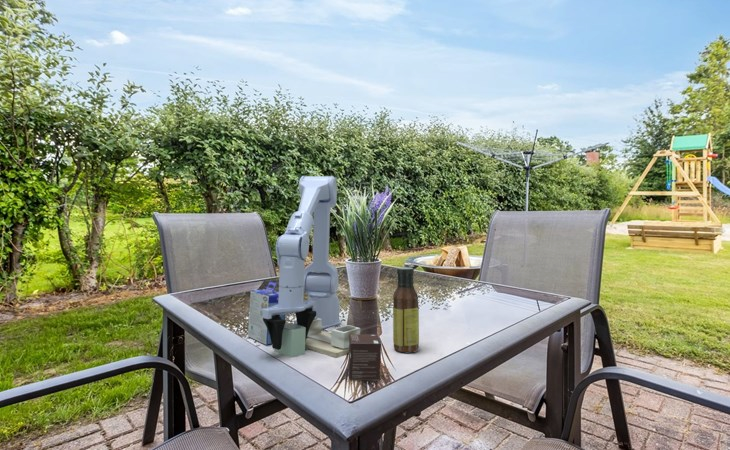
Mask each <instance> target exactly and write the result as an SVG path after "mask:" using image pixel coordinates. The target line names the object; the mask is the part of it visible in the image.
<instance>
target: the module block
mask: <svg viewBox="0 0 730 450" xmlns="http://www.w3.org/2000/svg"><path fill="white" fill-rule="evenodd" d="M305 333H306V327H303V326H301V325H297V324H294V322H287V323H286V322H285V325H284V329H283V333H282V345H281V349H279V350H277V349H274V348H273V349H274V350H273V351H274V353H276V354H281V355H283V356H286V357H289V358H295V357H297V356H301V355H303V354H306V353H305V352H306V348H305Z"/></svg>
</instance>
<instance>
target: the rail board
mask: <svg viewBox="0 0 730 450" xmlns="http://www.w3.org/2000/svg"><path fill="white" fill-rule="evenodd" d="M293 324H297V319H294V320H293ZM321 328H322V319H320V318H314V320H313V322H312V324H311V326H310V329H309V332H308V335H307V339H306V342H305V349H307V350H310V351H314V352H317V353H318V354H319V353H320V354H323V355H327V356H329V357H333V358H335V359H337V358H340V357H341V356H345V355H347V354H348V355H349V335H350V334H361V327H357V326H353V325H349V324H348V325H344V326H340V327H337V328H333V329H331V331H330V332H328V331H325V330H322V329H321Z"/></svg>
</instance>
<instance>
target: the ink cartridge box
mask: <svg viewBox="0 0 730 450" xmlns="http://www.w3.org/2000/svg"><path fill="white" fill-rule="evenodd" d="M277 285H278V283H277V282H272V281H269V283H268V284H267V285H266V288H265V289H256V290H254V289H253V290H250V295H249V296H250V298H249V313H248V315H249V316H248V330H247V337H248V338H250V339H253V340H255V341H257V342H259V343H261V344H263V345H265V346H267V345H272V342H271V338H270V334H269V331H268V329H267V327H266V325H265V323H264V321H263V318H262V313H263V309H265V308H269V307H272V306H275V305H278V300H279V291H275V290H276V287H277ZM270 286H273V287H270ZM280 317H281V319H283V320H286V315H281V316H280Z"/></svg>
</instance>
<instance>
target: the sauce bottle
mask: <svg viewBox="0 0 730 450" xmlns="http://www.w3.org/2000/svg"><path fill="white" fill-rule="evenodd" d="M414 269H415V268H413V267H407V266H404V267H403V266H401V267H397V268H396V275H397V287H396V288H395V290H394V292H393V294H392V295H393V296H392V297H393V298H392V300H393V301H392V304H393V305H392V339H393V340H392V341H393V348H394V350H395V351H397V352H400V353H403V352H412V353H415V352H414V351H416V352H417V351H418V350H419V347H420V346H419V344H420V325H419V324H420V321H419V320H420V314H419V312H420V311H419V310H420V308H419V296H418V294H417V292H416V289H415V287H414V274H415V273H414Z"/></svg>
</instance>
